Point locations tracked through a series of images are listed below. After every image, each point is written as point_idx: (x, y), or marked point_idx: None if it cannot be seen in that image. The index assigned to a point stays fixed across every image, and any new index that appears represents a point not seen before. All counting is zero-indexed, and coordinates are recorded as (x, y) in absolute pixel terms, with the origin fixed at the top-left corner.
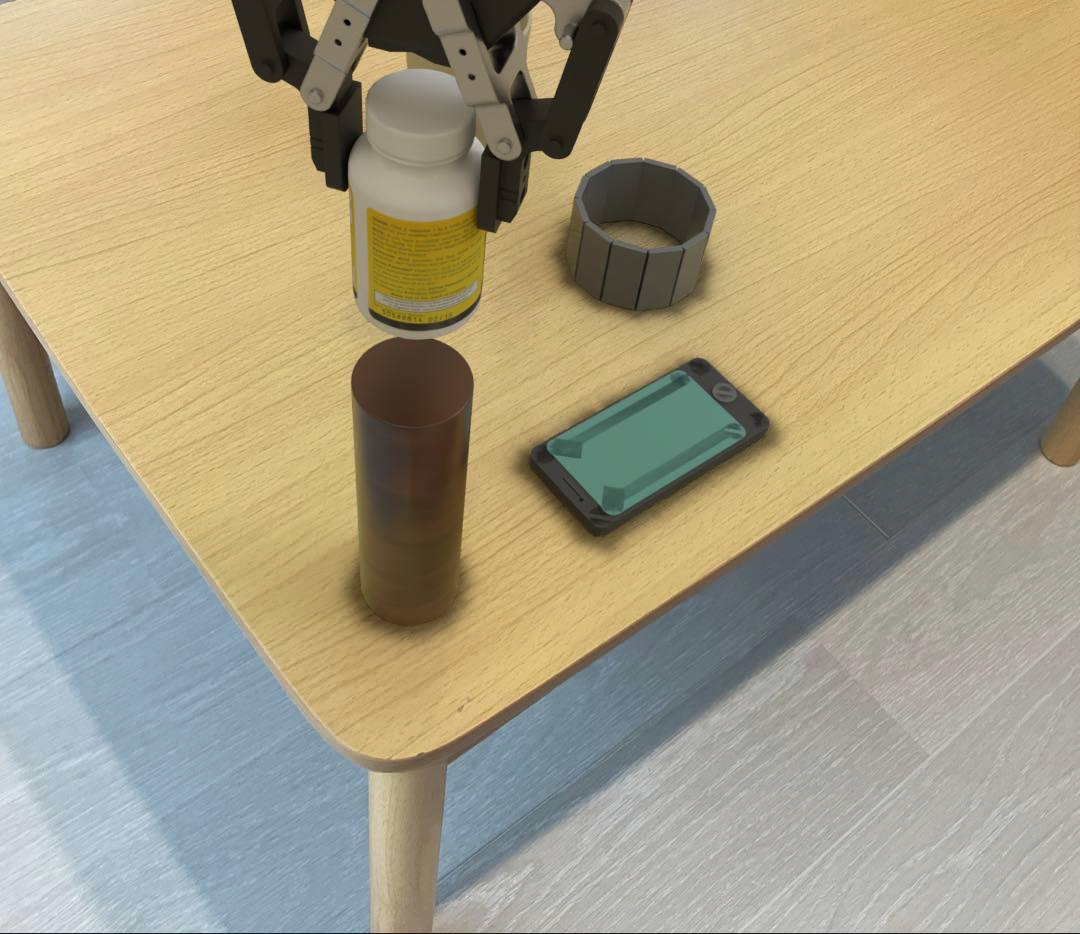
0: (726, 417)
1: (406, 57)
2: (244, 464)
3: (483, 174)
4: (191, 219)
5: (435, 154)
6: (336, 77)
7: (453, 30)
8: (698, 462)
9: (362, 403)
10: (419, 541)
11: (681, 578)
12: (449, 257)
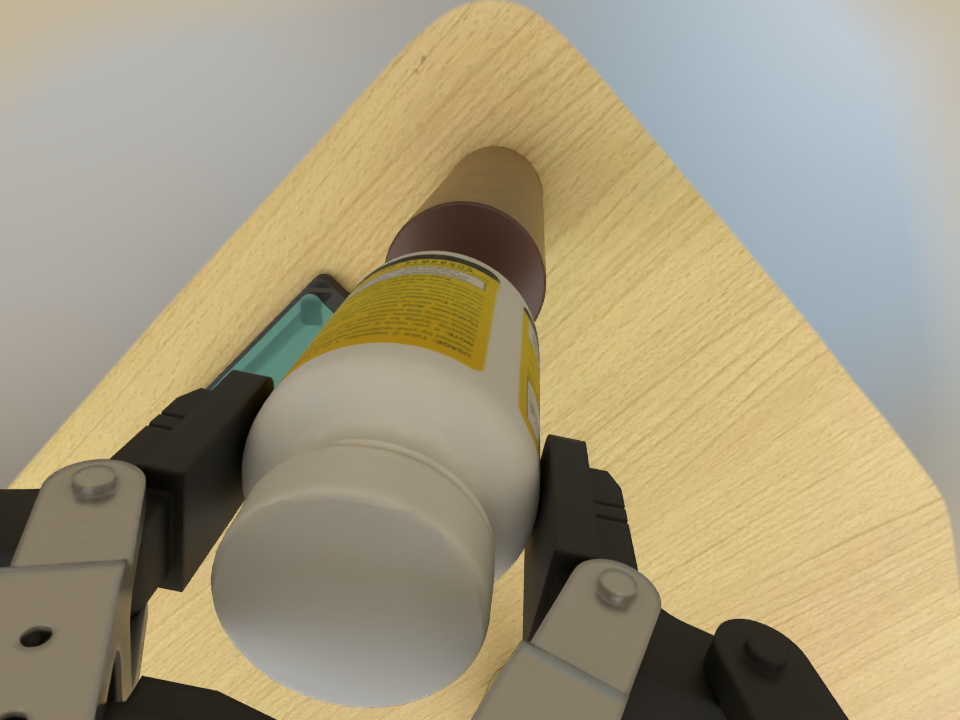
0: None
1: None
2: (677, 310)
3: (201, 443)
4: (770, 583)
5: (295, 463)
6: (557, 636)
7: None
8: (239, 364)
9: (523, 234)
10: (464, 168)
11: (239, 239)
12: (331, 326)
